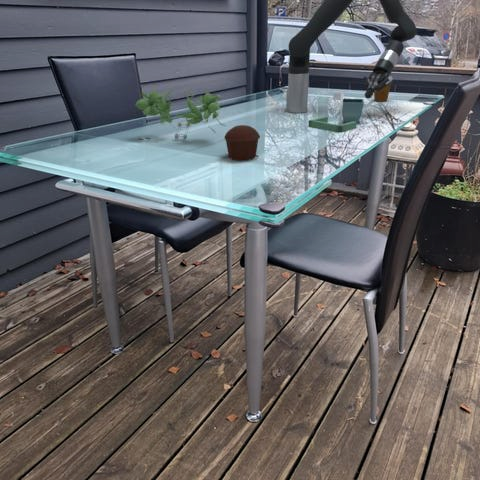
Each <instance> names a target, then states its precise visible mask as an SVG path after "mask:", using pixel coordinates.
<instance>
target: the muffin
mask: <svg viewBox="0 0 480 480" xmlns="http://www.w3.org/2000/svg"><path fill="white" fill-rule="evenodd" d="M223 138H224V140H225V143H226V147H227V155H228V158H229V159H231V160H232V161H240V162H241V160H242V161H250V160H253V159H252V158H254V159H255V157H257V151H258V145H259V139H260V138H261V136H260V134H259V132H258V131H257V130H256V129H255V127H252V126H250V125H246V124H245V125H243V124H242V125H235V126H233V127H232V128H230V129H229V130H228V131H227V132H226V133H225V135H224V136H223ZM249 159H250V160H249Z"/></svg>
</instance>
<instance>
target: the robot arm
mask: <svg viewBox="0 0 480 480" xmlns="http://www.w3.org/2000/svg"><path fill="white" fill-rule="evenodd" d="M353 1H354V0H323V1H322V3H321V4H320V6H318V8H317V9H316V10H315V12H314V14H313V15H312V17H311V18H310V19H309V20H308V22H307V23H306V24H305V26H303V28H301V30H300V31H298V32H297V33H296V35H294V36H293V37H292V38H291V39H290V40H289V43H288V52H289V60H288V61H289V62H288V76H287V77H288V79H287V81H288V84H287V86H288V87H287V90H286V96H285V97H286V101H285V102H286V105H285V106H286V109H285V110H286V111H287V112H288V113H291V114H292V113H295V114H301V113H302V114H303V113H307V112H308V101H309V98H308V97H309V77H310V59H311V57H310V55H311V48H312V46H313V45H314V44H315V42H317V39H318V38H320V36H321V35H322V34H323V33H324V32H325V31H326V30H327V29H328V28H329V27H331V26H332V25H333V24H334V23H335V22H336V21H337V20H338V19H339V18H340V17H341V16H342V15H343V13H344V12H346V10H347V8H349V6H350V5H351V4H352V2H353ZM379 3H380V5H381V7H382V10H383V12H384V14H385V16H386V19H387V21H388V22H389V23H390V24H396V25H397V26H395V27H394V28H393V29H392V31H391V32H390V35H389V39H388V43H387V45H386V47H385V49H384V51H383V52H382V53H381V55H380V56H379V58H378V60H376V64H375V65H374V67H373V69H372V72H371V73H370V74H369V76H363V78H362V79H363V82H364V86H365V89H366V91H365V93H364V97H365V98H366V99H368V100H369V99H371V98H372V97H373V95H374V92H375V91H380V90H381V89H383V88H384V87H386V86H387V85H389V84H390V80H389V79H388V77H389V76H391V73H392V72H393V71H394V69H395V67H396V65H397V63H398V61H399V59H400V57H401V55H402V53H403V51H404V48H405V45H404V44H403V43H404V42H408V41H411V40H413V39H414V38H415V37H416V36H417V25H416V24H415V22H414V20H412V17H410V15H409V14H408V13H407V12H406V10H404V8H403V4H402V3H401V0H379ZM381 85H382V86H381ZM380 86H381V87H380Z"/></svg>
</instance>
